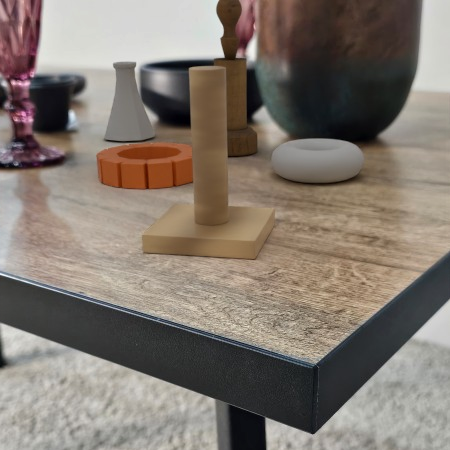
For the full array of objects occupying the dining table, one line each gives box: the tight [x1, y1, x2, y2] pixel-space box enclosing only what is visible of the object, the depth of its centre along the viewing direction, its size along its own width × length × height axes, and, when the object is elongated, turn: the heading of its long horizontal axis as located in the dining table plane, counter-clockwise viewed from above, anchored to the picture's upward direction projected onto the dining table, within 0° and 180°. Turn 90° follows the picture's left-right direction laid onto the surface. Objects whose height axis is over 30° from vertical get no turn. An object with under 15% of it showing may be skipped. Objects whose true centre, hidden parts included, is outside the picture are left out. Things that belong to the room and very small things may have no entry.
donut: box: [270, 138, 365, 184], centre depth 80 cm, size 10×4×10 cm
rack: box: [141, 65, 276, 260], centre depth 59 cm, size 9×9×14 cm
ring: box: [95, 141, 193, 190], centre depth 81 cm, size 11×11×3 cm
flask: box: [103, 61, 155, 142], centre depth 101 cm, size 7×7×10 cm
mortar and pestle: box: [213, 0, 259, 157], centre depth 89 cm, size 7×6×18 cm
